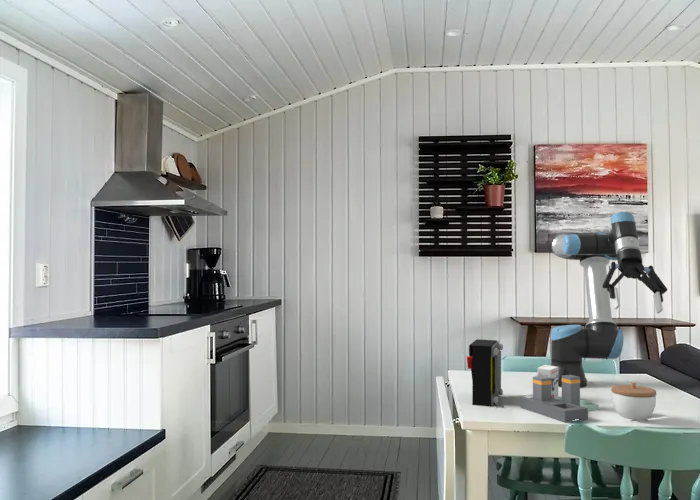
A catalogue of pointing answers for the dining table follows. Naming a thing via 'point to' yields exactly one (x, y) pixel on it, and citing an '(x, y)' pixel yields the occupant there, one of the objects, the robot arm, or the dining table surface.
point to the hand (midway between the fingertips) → (638, 309)
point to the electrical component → (485, 371)
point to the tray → (587, 404)
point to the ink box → (551, 373)
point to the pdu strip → (551, 403)
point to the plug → (571, 389)
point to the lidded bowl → (633, 401)
